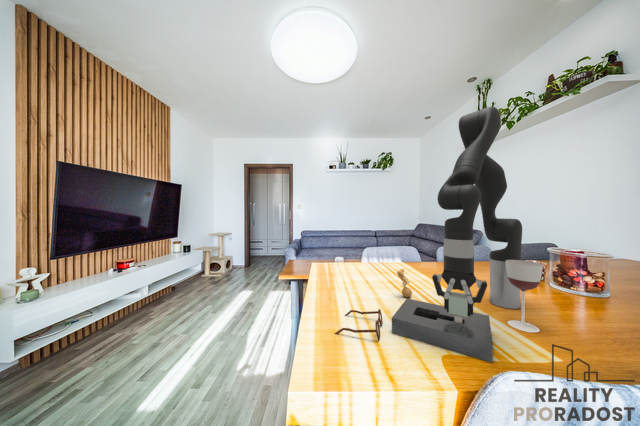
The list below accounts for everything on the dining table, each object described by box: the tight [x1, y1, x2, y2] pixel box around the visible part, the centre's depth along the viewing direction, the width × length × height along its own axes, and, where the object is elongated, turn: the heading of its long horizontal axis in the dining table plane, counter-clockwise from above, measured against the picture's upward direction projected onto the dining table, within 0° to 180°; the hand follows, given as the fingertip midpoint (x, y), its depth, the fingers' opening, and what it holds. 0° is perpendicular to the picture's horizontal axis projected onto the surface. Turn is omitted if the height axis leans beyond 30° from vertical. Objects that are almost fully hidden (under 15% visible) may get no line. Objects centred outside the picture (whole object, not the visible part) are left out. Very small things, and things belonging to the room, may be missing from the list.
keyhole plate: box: [391, 298, 494, 364], centre depth 68 cm, size 24×18×4 cm
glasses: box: [334, 308, 383, 341], centre depth 71 cm, size 13×13×5 cm
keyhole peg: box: [449, 291, 468, 324], centre depth 65 cm, size 5×5×12 cm
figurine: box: [396, 268, 413, 298], centre depth 95 cm, size 8×6×12 cm
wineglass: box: [506, 259, 543, 333], centre depth 71 cm, size 8×9×20 cm
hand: (458, 312), depth 65 cm, fingers closed on keyhole peg, 4 cm apart
